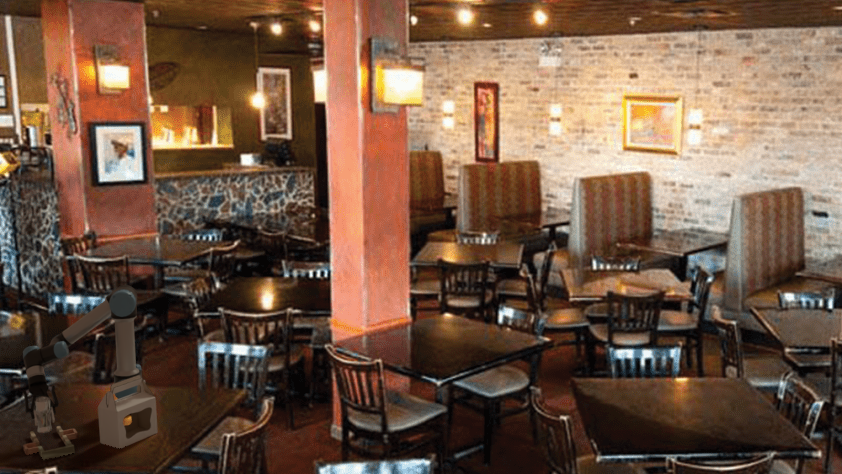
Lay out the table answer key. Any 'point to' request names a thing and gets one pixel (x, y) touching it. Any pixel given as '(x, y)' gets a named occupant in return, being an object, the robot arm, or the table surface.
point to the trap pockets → (70, 433)
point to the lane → (58, 451)
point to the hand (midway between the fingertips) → (45, 422)
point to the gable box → (134, 404)
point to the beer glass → (43, 414)
